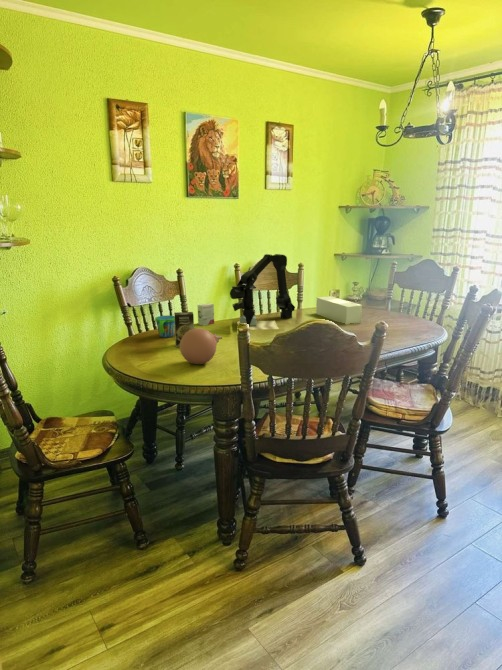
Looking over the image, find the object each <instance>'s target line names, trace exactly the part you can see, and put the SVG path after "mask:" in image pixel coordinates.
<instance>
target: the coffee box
mask: <svg viewBox="0 0 502 670" xmlns="http://www.w3.org/2000/svg"><path fill="white" fill-rule="evenodd" d="M173 316H174V317H175V328H174V335H175V336H174V337H175V338H174V341H175V348H180V342H181V339H182V337H183V336H184V334H185V333H186V332H188V331H189V330H191V329H195V321H194V318H195V317H194V312H193V311H187V312H186V311H183V312H182V311H180V312H174V315H173Z"/></svg>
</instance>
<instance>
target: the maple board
mask: <svg viewBox="0 0 502 670" xmlns="http://www.w3.org/2000/svg"><path fill="white" fill-rule="evenodd" d="M236 323H237V325H238V324H239V323H240V320H239V321H237V322H236ZM249 329H250V330H249V331H252V330H253V331H254V330H259V331H261V330H279V329H280V328H279V327H278V324H277V323H276V320H257V321H256V326H249Z"/></svg>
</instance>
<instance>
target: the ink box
mask: <svg viewBox="0 0 502 670" xmlns="http://www.w3.org/2000/svg"><path fill="white" fill-rule="evenodd" d="M197 324H198V325H200V326H201V327H203V326H207V325H213V324H215V305H214V303H210V302H208V303H202V304H201V303H200V304H197Z"/></svg>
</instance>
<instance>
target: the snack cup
mask: <svg viewBox="0 0 502 670" xmlns="http://www.w3.org/2000/svg"><path fill="white" fill-rule="evenodd" d="M154 320H155V322H156V323H155V324H156V327H157V331H158V336H159V338H164V339H165V338H172V337H173V336H174V335H175V317H174V315H169V314H167V315H159V316H158V315H157V316H156V317H155V319H154Z"/></svg>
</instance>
